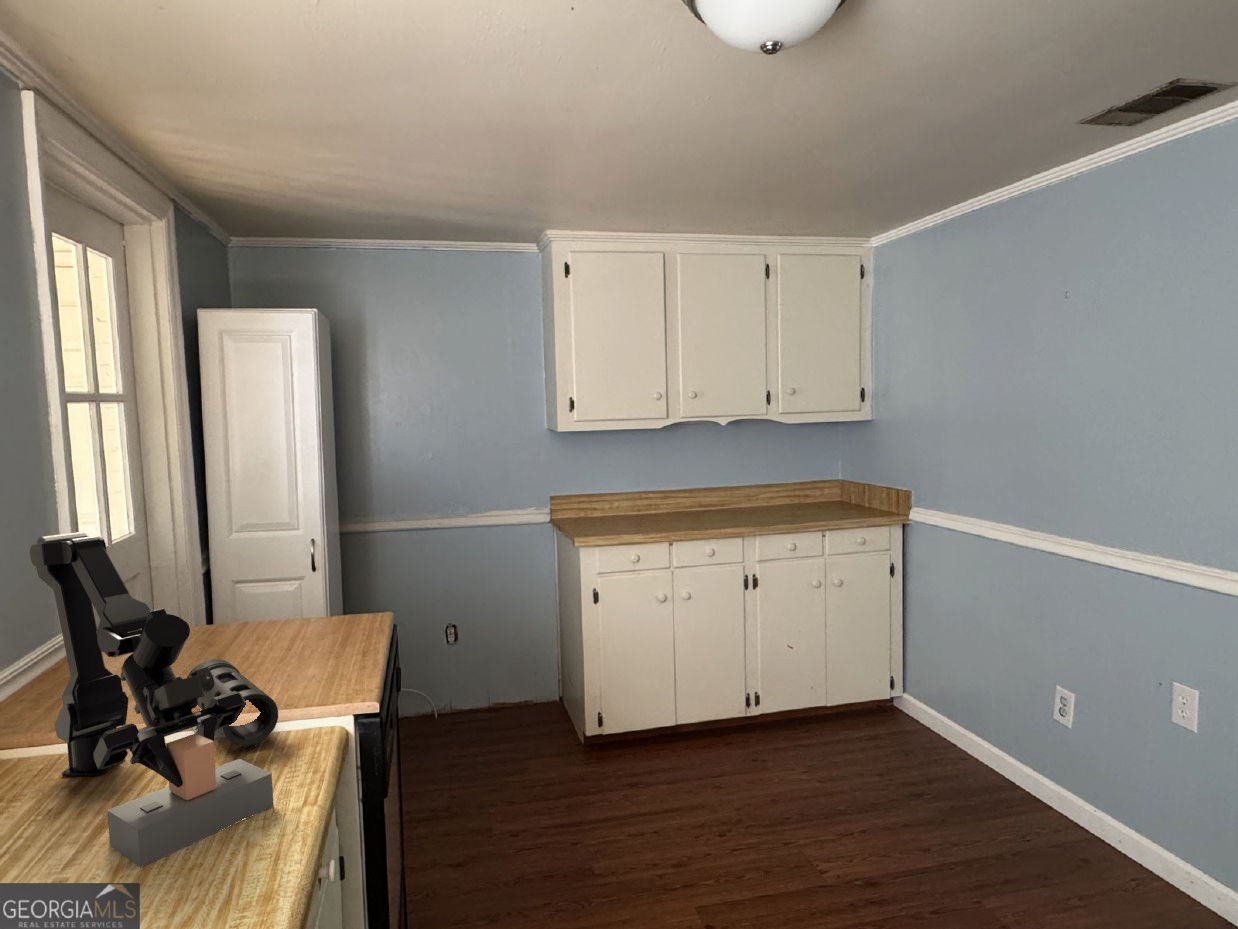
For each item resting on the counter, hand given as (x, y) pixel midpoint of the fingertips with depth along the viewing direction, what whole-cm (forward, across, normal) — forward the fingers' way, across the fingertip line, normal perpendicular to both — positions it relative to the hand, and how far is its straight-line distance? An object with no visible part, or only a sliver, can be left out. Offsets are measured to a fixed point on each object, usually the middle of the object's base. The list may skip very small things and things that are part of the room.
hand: (197, 779), depth 106 cm
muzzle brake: (-17, +21, +28) cm, 39 cm away
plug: (+4, 0, +6) cm, 7 cm away
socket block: (+4, 0, +6) cm, 7 cm away
